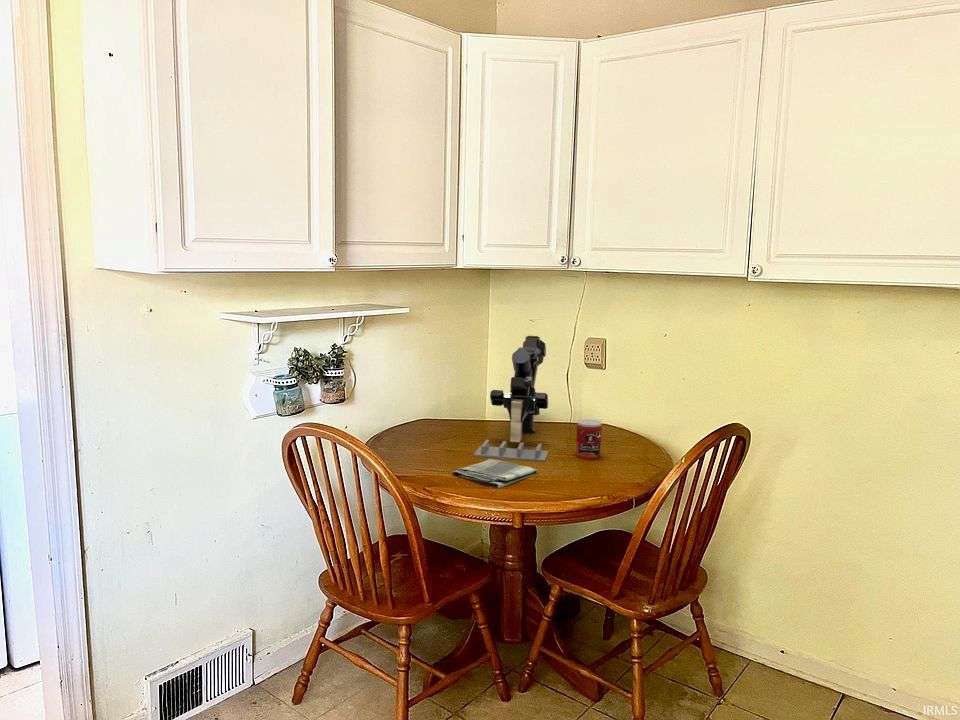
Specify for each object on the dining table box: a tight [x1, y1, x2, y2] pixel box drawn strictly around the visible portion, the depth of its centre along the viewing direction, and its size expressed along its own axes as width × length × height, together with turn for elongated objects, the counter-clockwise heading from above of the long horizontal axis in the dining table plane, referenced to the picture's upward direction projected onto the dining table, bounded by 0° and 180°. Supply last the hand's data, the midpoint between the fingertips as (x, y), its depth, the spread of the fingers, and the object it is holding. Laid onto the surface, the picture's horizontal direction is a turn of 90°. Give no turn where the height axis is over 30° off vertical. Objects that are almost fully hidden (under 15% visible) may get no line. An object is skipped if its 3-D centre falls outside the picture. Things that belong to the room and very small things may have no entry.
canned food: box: [575, 418, 603, 460], centre depth 227 cm, size 8×8×11 cm
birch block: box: [510, 399, 523, 443], centre depth 234 cm, size 4×3×13 cm, turn 169°
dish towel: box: [451, 458, 539, 489], centre depth 207 cm, size 19×18×3 cm
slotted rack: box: [473, 439, 549, 463], centre depth 227 cm, size 10×22×3 cm, turn 79°
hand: (515, 421), depth 233 cm, fingers closed on birch block, 3 cm apart
